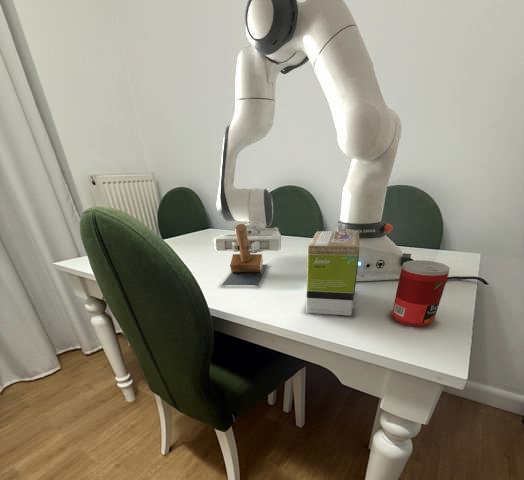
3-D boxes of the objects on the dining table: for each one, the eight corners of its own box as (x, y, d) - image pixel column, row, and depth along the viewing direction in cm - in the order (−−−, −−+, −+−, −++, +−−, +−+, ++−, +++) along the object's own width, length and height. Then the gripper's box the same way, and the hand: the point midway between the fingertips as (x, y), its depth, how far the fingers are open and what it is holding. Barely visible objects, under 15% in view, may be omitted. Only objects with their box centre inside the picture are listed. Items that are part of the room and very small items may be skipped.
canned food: (431, 331, 55) (448, 274, 49) (387, 322, 59) (398, 268, 53) (435, 315, 61) (451, 262, 55) (394, 308, 64) (406, 258, 58)
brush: (263, 263, 89) (258, 221, 78) (261, 274, 87) (255, 232, 75) (234, 263, 91) (226, 222, 79) (231, 274, 88) (222, 233, 76)
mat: (267, 266, 96) (267, 264, 95) (257, 287, 79) (257, 285, 79) (237, 266, 97) (237, 264, 97) (222, 286, 80) (222, 284, 80)
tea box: (313, 289, 76) (316, 229, 68) (353, 292, 73) (361, 229, 66) (304, 313, 64) (307, 243, 56) (351, 317, 61) (362, 244, 53)
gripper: (219, 228, 93) (206, 237, 81) (283, 227, 90) (278, 236, 78) (221, 248, 96) (209, 260, 84) (283, 248, 93) (278, 260, 82)
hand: (243, 248), depth 81 cm, fingers closed on brush, 3 cm apart
